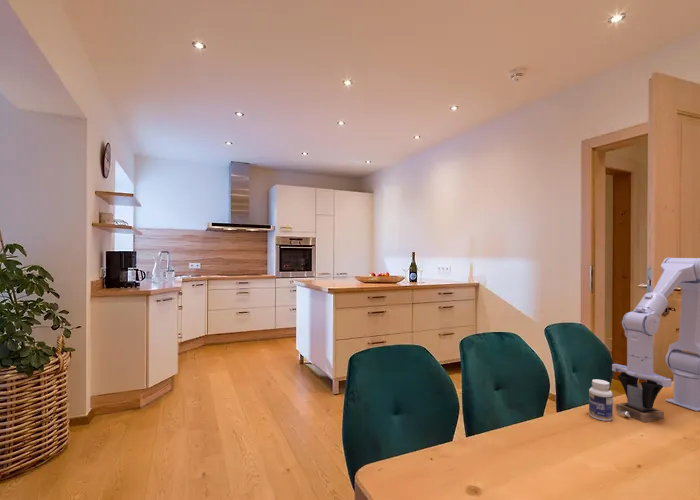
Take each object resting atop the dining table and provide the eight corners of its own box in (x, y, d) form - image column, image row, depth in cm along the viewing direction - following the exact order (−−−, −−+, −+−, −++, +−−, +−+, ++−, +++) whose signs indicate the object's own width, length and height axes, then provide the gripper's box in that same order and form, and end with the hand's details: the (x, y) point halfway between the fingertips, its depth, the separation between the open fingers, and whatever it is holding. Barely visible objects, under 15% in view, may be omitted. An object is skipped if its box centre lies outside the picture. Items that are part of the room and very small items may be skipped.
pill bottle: (584, 415, 103) (584, 379, 103) (596, 411, 105) (596, 377, 105) (604, 423, 98) (605, 386, 98) (617, 419, 100) (617, 383, 100)
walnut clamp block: (635, 408, 108) (635, 401, 108) (663, 419, 100) (663, 411, 100) (610, 412, 105) (610, 405, 105) (637, 423, 97) (637, 416, 98)
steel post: (637, 411, 105) (637, 383, 105) (652, 417, 102) (652, 388, 102) (627, 412, 104) (627, 384, 104) (642, 419, 100) (642, 389, 100)
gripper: (604, 349, 109) (604, 396, 109) (658, 364, 95) (658, 417, 95) (622, 348, 111) (621, 393, 111) (677, 362, 97) (677, 413, 97)
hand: (639, 404), depth 103 cm, fingers closed on steel post, 4 cm apart
